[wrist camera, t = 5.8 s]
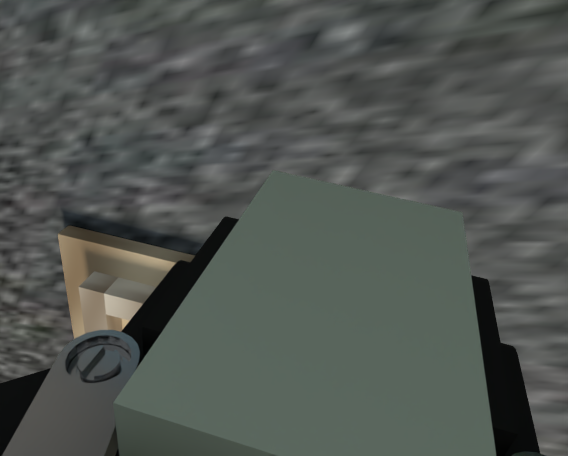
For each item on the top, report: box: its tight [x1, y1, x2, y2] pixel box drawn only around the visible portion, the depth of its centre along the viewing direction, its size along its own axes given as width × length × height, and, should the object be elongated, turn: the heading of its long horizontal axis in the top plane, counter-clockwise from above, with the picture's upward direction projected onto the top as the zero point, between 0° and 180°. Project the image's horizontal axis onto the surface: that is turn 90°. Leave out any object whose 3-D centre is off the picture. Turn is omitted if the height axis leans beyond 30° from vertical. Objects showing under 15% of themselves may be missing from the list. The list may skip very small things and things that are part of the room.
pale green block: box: [113, 170, 496, 456], centre depth 9 cm, size 4×4×7 cm
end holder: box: [58, 225, 195, 339], centre depth 28 cm, size 14×14×2 cm
